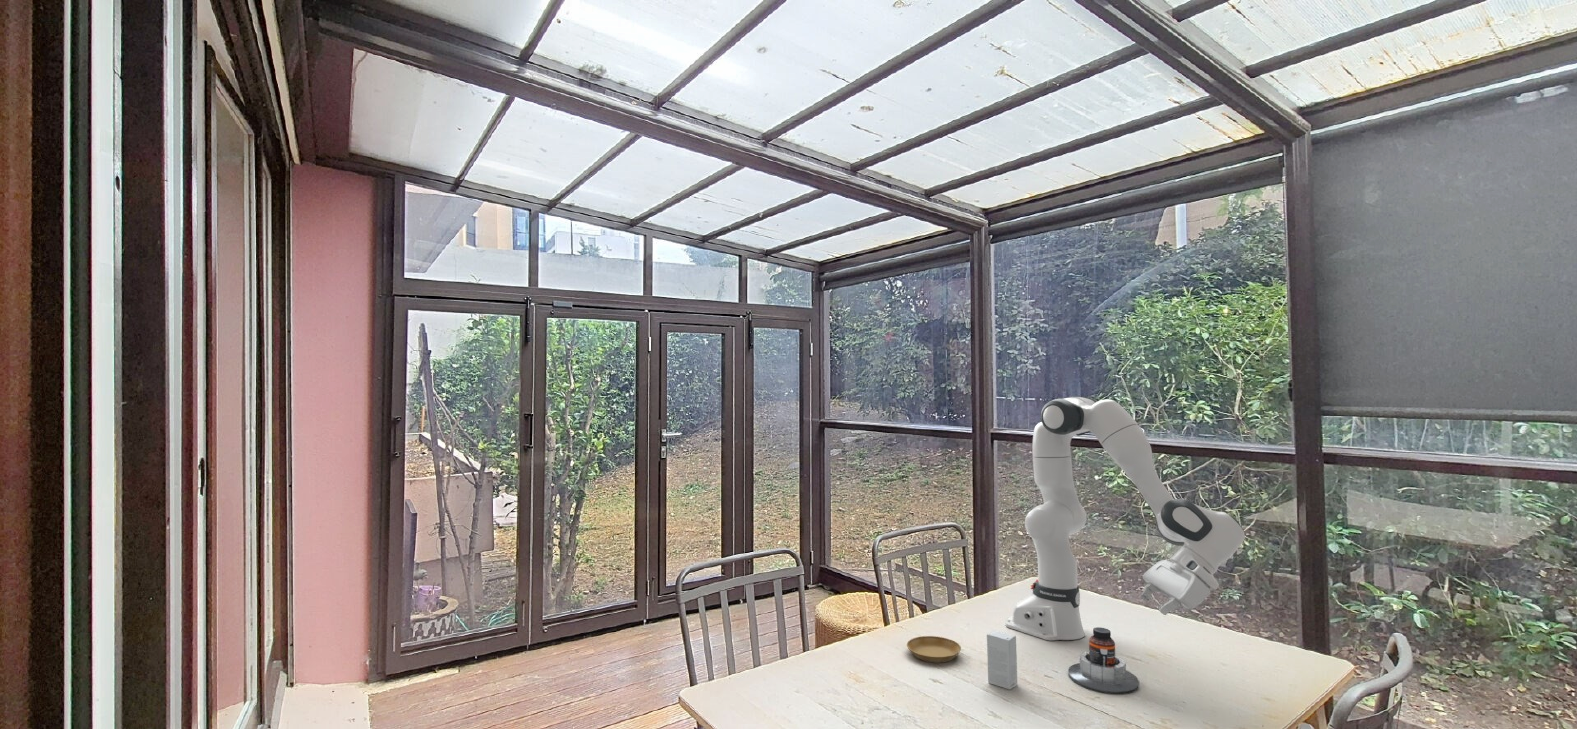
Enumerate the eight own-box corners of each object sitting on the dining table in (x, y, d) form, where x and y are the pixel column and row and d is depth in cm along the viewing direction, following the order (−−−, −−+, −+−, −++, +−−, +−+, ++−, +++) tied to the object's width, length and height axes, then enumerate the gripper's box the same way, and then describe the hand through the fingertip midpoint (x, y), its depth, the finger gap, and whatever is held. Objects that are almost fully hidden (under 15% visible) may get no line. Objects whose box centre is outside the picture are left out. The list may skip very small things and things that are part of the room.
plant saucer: (940, 671, 170) (939, 661, 170) (896, 654, 181) (895, 645, 181) (971, 656, 180) (971, 646, 180) (928, 641, 191) (928, 632, 191)
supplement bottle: (1111, 682, 160) (1110, 636, 160) (1086, 675, 164) (1085, 630, 164) (1118, 675, 164) (1117, 629, 165) (1093, 668, 168) (1092, 624, 169)
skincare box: (1017, 684, 161) (1016, 635, 162) (1010, 690, 158) (1009, 640, 159) (994, 677, 165) (993, 629, 166) (987, 683, 162) (986, 634, 163)
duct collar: (1059, 680, 163) (1058, 660, 164) (1080, 661, 175) (1079, 642, 175) (1128, 700, 153) (1128, 679, 153) (1146, 678, 165) (1145, 658, 165)
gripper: (1159, 548, 174) (1123, 584, 175) (1203, 569, 154) (1162, 610, 154) (1177, 565, 174) (1141, 601, 174) (1223, 588, 153) (1182, 629, 154)
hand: (1151, 606), depth 164 cm, fingers open, 8 cm apart
